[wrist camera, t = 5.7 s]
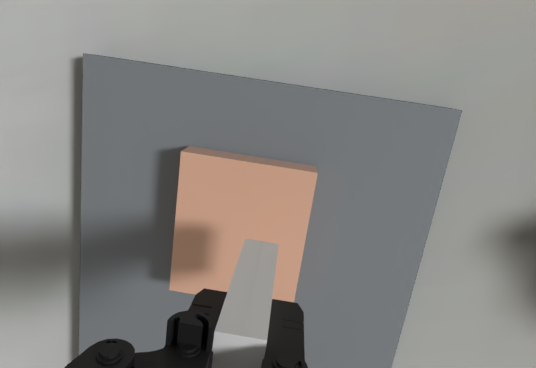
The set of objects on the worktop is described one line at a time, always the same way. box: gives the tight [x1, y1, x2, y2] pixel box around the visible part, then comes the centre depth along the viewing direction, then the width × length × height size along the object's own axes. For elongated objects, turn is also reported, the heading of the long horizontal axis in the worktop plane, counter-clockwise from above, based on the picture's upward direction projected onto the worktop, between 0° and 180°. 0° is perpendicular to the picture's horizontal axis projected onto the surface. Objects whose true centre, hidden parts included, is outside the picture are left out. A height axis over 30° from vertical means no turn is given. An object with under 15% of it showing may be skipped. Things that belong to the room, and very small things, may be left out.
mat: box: [79, 53, 462, 368], centre depth 25 cm, size 30×20×1 cm, turn 172°
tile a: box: [169, 146, 318, 302], centre depth 22 cm, size 8×2×7 cm
